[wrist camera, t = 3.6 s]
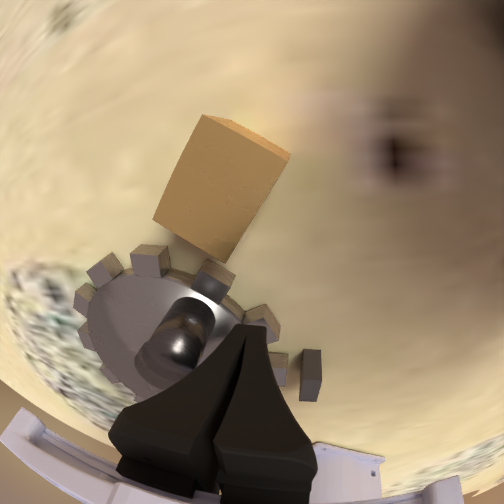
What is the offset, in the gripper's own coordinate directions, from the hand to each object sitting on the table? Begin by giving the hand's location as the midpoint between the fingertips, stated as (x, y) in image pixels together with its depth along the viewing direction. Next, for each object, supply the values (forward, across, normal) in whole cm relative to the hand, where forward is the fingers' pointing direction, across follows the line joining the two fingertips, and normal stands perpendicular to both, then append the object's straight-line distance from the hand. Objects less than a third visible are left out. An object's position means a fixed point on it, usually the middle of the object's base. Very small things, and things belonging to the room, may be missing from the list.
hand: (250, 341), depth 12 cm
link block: (+3, +1, -7) cm, 7 cm away
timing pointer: (+3, -3, +4) cm, 6 cm away
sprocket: (+3, +5, +4) cm, 7 cm away
